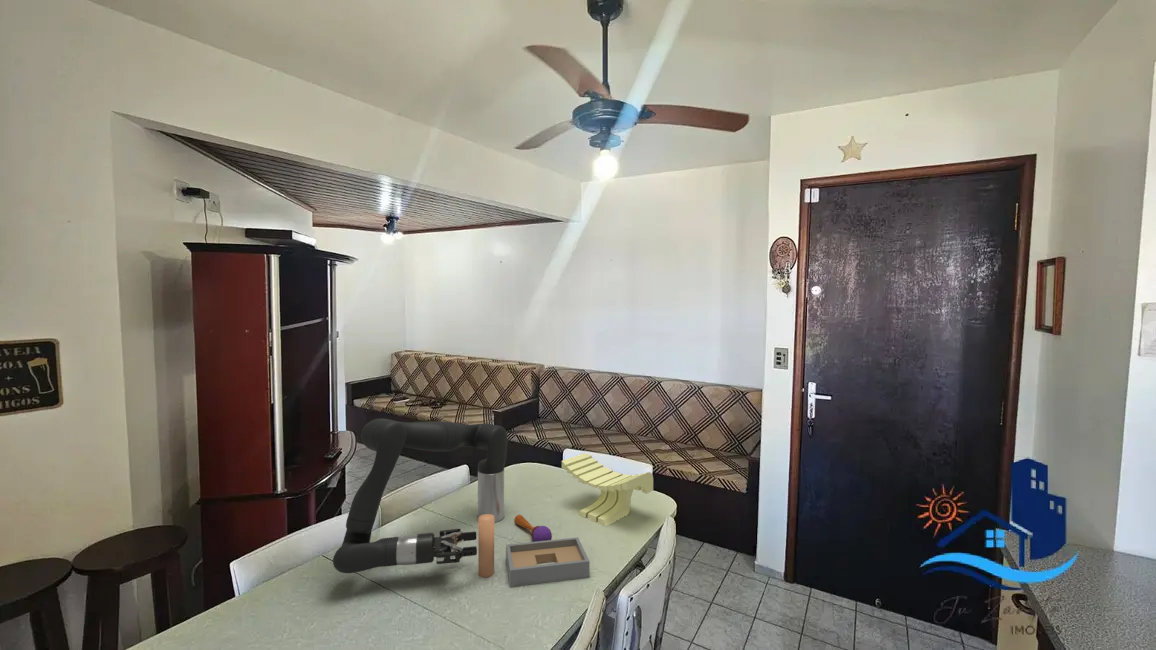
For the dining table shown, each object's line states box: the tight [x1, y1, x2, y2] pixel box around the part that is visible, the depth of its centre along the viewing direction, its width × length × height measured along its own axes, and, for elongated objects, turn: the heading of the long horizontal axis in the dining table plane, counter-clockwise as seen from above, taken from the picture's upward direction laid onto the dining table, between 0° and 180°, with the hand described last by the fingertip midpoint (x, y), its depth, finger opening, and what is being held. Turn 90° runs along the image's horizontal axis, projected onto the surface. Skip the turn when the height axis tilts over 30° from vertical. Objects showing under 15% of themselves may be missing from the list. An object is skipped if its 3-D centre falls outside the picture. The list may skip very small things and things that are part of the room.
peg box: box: [505, 537, 590, 588], centre depth 137 cm, size 14×22×4 cm, turn 103°
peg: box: [477, 514, 495, 578], centre depth 134 cm, size 4×4×16 cm
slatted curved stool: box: [561, 452, 654, 527], centre depth 173 cm, size 30×16×18 cm, turn 48°
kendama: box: [513, 514, 553, 542], centre depth 156 cm, size 6×6×20 cm
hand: (476, 542), depth 133 cm, fingers open, 8 cm apart
